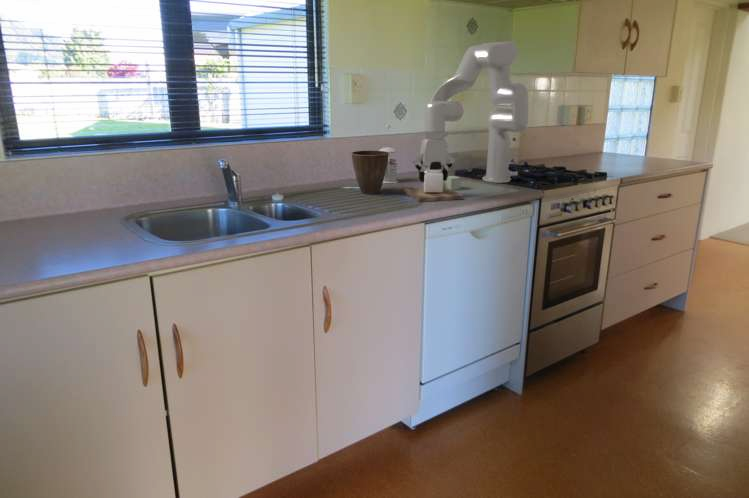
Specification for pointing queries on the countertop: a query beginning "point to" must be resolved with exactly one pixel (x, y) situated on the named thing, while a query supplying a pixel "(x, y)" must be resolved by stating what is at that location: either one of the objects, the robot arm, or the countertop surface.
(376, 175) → the plant pot
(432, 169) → the medicine bottle
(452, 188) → the sage block
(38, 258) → the countertop surface
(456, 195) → the walnut board
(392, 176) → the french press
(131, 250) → the countertop surface
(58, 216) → the countertop surface
